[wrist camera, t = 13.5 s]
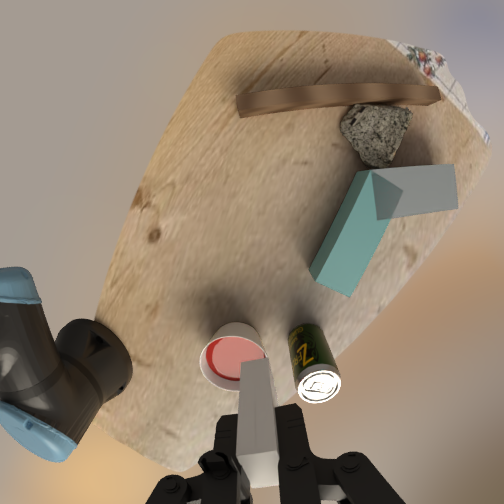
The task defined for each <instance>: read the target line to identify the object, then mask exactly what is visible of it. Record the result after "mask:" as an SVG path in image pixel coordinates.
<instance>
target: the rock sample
mask: <svg viewBox="0 0 504 504" xmlns="http://www.w3.org/2000/svg"><path fill="white" fill-rule="evenodd" d="M412 115H413V113H412V112H411V110H410V111H409V109H408V107H406V109H403V108H400V107H396V106H386V105H371V104H363V105H360V104H355V105H354V107H353V108H352V109H351V110H350V111H349V112H348V113H347V115H346V116H344V118H343V120H342V121H341V127H340V128H341V129H340V131H341V133H342V135H343V136H345V137H346V138H347V140H349V141H350V142H351V144H352V146H353V149H355V150H356V151H357V152H359V153H360V157H361V159H362V161H363V162H364V163H365V164H366V165H367V166H370V167H372V168H373V169H385V168H387V167H388V166H389V165H390V164H391V162H392V161H393V158H394V156H395V154H396V152H397V149H398V147H399V145H400V143H401V141H402V139H403V136H404V134H405V132H406V130H407V128H408V126H409V123H410V121H411V119H412ZM366 168H367V167H366Z"/></svg>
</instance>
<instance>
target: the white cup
mask: <svg viewBox="0 0 504 504" xmlns="http://www.w3.org/2000/svg"><path fill="white" fill-rule="evenodd" d="M262 358H267V354H266V351H265V349H264V346H263V343H262V341H261V338H260V336H259V334H258V333H257V331H256V330H255V329H254V328H252V327H251V326H249V325H247V324H245V323H241V322H232V323H228V324H225V325H223V326H222V327H221V328H219V329H218V330H217V332H216V333H215V334H214V335H213V337H212V338H211V339H210V341H209V342H208V343H207V345H206V346H205V347H204V349H203V350H202V352H201V355H200V368H201V371H202V373H203V375H204V376H205V378H206V379H207V380H208V381H209V382H210V383H212V384H213V385H215V386H217V387H219V388H221V389H224V390H228V391H239V388H240V370H241V362H246V361H251V360H257V359H262Z"/></svg>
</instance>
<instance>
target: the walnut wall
mask: <svg viewBox="0 0 504 504" xmlns="http://www.w3.org/2000/svg"><path fill="white" fill-rule="evenodd" d="M235 96H236V101H237V107H238V112H239V115H240V118H245V117H251V116H257V115H263V114H270V113H277V112H285V111H293V110H302V109H311V108H323V107H336V106H354V105H355V104H360V105H363V104H371V105H425V106H428V105H430V104H433V103H435V102H437V101H440V100H441V96H440V93H439V89H438V87H435V86H425V85H412V84H391V83H346V84H325V85H311V86H299V87H290V88H281V89H273V90H266V91H259V92H253V93H246V94H241V95H235Z"/></svg>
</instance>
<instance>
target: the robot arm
mask: <svg viewBox="0 0 504 504" xmlns="http://www.w3.org/2000/svg"><path fill="white" fill-rule="evenodd" d="M41 303H42V301H41V298H39V295H38V293H37V290H36V287H35V284H34V281H33V277H32V275H31V274H30V272H29V271H28V270H26V269H25V268H22V267H7V268H0V424H1V425H2V427H3V428H4V429H5V430H6V431H7V432H8V433H9V434H10V435H11V436H12V437H13V438H14V439H15V440H16V441H17V442H18V443H19V444H21V445H22V446H23V447H25V448H26V449H27V450H29V451H31V452H32V453H34V454H35V455H37V456H39V457H41V458H43V459H45V460H48V461H51V462H63V461H65V460H66V459H67V458H68V457H69V455H70V454H71V453H72V451H73V450H74V449H76V447H77V445H78V443H79V442H80V440H81V438H82V437H83V435H84V433H85V432H86V430H87V429H88V427H89V425H90V424H91V422H92V420H93V419H94V417H95V415H96V414H97V412H98V411H99V409H100V408H101V406H102V405H103V404H104V403H106V402H108V401H109V400H111V399H112V398H114V397H116V396H117V395H119V394H120V393H122V392H123V391H124V390H125V388H126V387H127V385H128V384H129V382H130V380H131V378H132V373H133V369H132V362H131V359H130V356H129V354H128V352H127V350H126V348H125V347H124V345H123V344H122V342H121V341H120V340H119V339H118V338H117V337H116V336H115V335H114V334H113V333H112V332H111V331H110V330H109V329H107V328H106V327H104V326H103V325H101V324H99V323H97V322H95V321H92V320H89V319H75V320H73V321H71V322H69V323H68V324H67V325H66V326H64V327H63V328H62V329H61V330H60V332H59V333H58V336H57V338H56V340H55V342H54V339H53V337H52V334H51V331H50V329H49V326H48V323H47V320H46V317H45V314H44V311H43V308H42V305H41ZM198 464H199V465H200V467H201V468H202V470H203V471H204V473H202V474H201V475H198V476H195V477H191V478H187V479H184V478H183V477H181V476H179V475H168V476H165V477H164V478H162V479H161V480H160V481H159V482H158V483H157V485H156V487H155V488H154V490H153V492H152V494H151V495H150V497H149V498H148V500H147V502H146V503H145V504H253V499H252V495H251V493H250V485H251V487H252V488H261V487H269V486H277V485H279V490H280V502H281V504H321V501H320V500H332V501H333V500H334V501H337V502H338V504H406V503H405V502H404V501H403V500H402V499H401V498H400V497H399V495H398V494H397V493H396V492H395V490H394V489H393V488H392V487H391V486H390V484H389V483H388V482H387V481H386V480H385V479H384V477H383V476H382V475H381V474H380V473H379V471H378V470H377V469H376V468H375V466H374V465H373V464H372V463H371V461H370V460H369V459H368V458H367V457H366V456H365V455H364V454H363V453H359V452H348V453H344V454H342V455H341V456H339V457H338V458H337V459H323V458H320V457H317V456H315V455H314V454H313V453H312V452H311V450H310V447H309V442H308V438H307V432H306V428H305V423H304V418H303V413H302V409H301V408H300V407H299V406H298V405H297V404H296V403H294V404H289V405H284V406H278V397H277V391H276V387H275V383H274V379H273V375H272V371H271V367H270V363H269V359H268V357H267V358H262V359H257V360H251V361H246V362H241V370H240V388H239V406H238V414H231V415H223V416H221V418H220V419H219V421H218V422H217V425H216V433H215V440H214V448H213V450H211V451H208V452H206V453H204V454H203V455H202V456H201V457H200V458H199V461H198Z"/></svg>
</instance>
